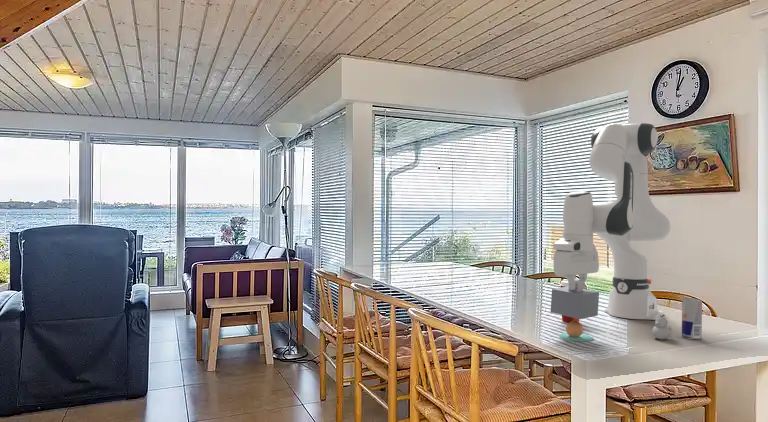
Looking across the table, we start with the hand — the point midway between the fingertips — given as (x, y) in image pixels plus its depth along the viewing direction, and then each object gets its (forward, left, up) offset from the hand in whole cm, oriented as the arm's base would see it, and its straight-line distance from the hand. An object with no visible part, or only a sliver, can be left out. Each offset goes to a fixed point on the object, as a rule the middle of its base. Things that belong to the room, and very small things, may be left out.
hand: (576, 289), depth 163 cm
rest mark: (0, 0, -15) cm, 15 cm away
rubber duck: (-20, +17, -15) cm, 30 cm away
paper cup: (-20, -14, -15) cm, 29 cm away
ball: (0, -1, -13) cm, 13 cm away
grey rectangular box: (0, -1, -8) cm, 8 cm away
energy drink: (-29, +22, -15) cm, 39 cm away
